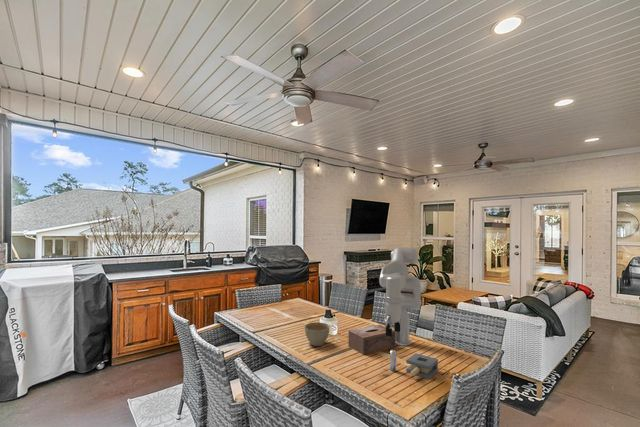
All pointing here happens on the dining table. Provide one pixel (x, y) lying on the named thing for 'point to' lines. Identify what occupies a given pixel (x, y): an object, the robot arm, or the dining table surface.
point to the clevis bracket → (422, 365)
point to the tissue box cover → (370, 339)
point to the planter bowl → (317, 333)
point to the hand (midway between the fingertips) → (393, 333)
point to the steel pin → (393, 360)
